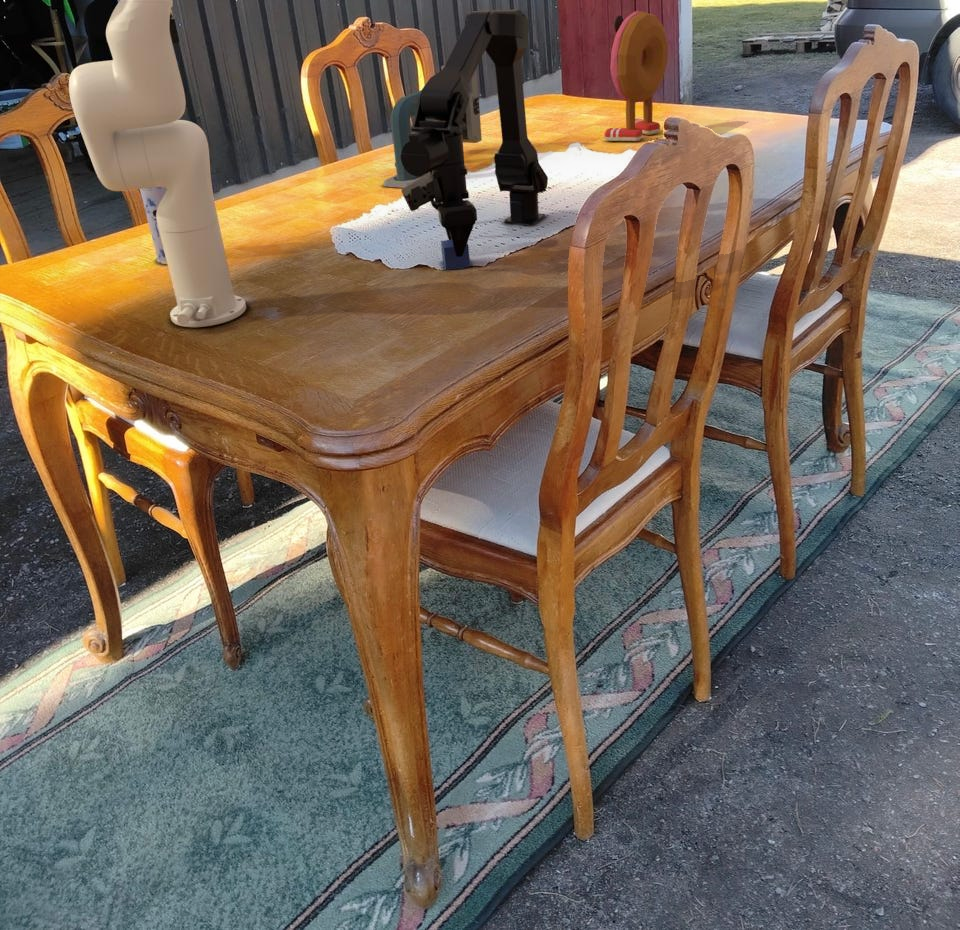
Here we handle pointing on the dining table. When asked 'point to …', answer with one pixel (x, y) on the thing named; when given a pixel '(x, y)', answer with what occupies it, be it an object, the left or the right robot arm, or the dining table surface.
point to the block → (454, 256)
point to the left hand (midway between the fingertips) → (167, 46)
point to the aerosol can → (154, 217)
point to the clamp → (407, 109)
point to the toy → (637, 71)
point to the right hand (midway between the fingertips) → (455, 248)
